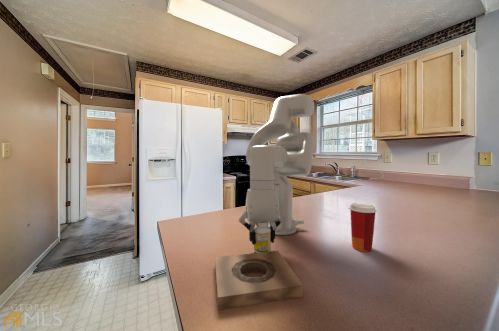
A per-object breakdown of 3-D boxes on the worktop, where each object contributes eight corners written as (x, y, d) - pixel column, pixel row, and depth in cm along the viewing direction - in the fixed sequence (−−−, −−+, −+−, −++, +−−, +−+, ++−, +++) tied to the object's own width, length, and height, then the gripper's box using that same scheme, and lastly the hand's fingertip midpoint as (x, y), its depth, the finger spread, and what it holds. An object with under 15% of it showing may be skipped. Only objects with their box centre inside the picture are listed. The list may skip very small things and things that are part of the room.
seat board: (277, 259, 59) (277, 250, 59) (302, 296, 43) (303, 285, 43) (215, 266, 55) (215, 257, 55) (218, 309, 40) (217, 297, 40)
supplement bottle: (264, 256, 61) (263, 225, 60) (250, 251, 64) (250, 221, 63) (274, 250, 65) (274, 220, 64) (260, 245, 68) (260, 217, 68)
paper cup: (372, 244, 68) (373, 203, 67) (378, 255, 61) (379, 209, 60) (346, 241, 71) (347, 201, 70) (349, 251, 63) (350, 207, 63)
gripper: (283, 182, 69) (283, 235, 70) (233, 184, 65) (233, 239, 66) (292, 186, 61) (292, 244, 62) (236, 188, 58) (237, 250, 59)
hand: (262, 241), depth 64 cm, fingers closed on supplement bottle, 5 cm apart
